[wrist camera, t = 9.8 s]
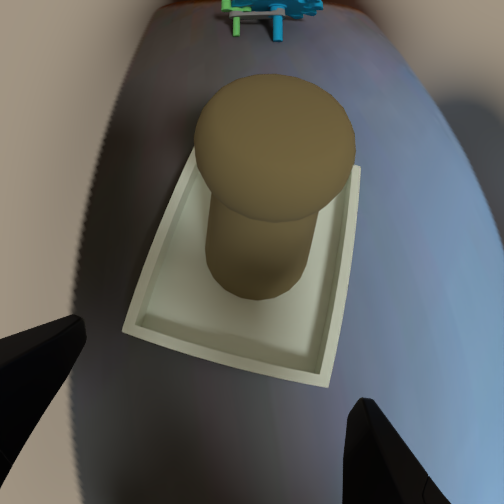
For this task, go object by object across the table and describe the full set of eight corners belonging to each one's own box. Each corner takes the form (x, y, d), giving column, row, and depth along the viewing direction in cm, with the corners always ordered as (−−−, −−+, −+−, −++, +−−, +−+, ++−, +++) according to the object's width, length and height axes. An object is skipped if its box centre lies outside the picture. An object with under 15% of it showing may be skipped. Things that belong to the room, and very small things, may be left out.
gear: (319, 12, 29) (326, -20, 20) (320, 52, 32) (329, 30, 22) (231, 12, 30) (212, -18, 21) (230, 52, 33) (210, 30, 24)
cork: (185, 238, 18) (140, 92, 8) (266, 188, 20) (291, 37, 10) (245, 322, 17) (261, 241, 6) (327, 261, 18) (418, 138, 8)
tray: (319, 386, 16) (327, 387, 14) (132, 335, 17) (121, 331, 15) (352, 181, 21) (360, 166, 20) (204, 145, 22) (202, 128, 20)
